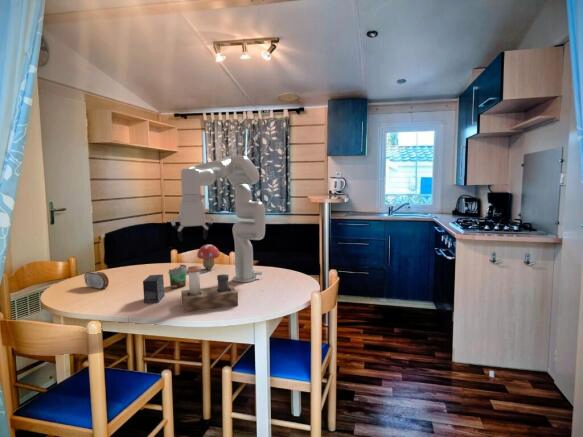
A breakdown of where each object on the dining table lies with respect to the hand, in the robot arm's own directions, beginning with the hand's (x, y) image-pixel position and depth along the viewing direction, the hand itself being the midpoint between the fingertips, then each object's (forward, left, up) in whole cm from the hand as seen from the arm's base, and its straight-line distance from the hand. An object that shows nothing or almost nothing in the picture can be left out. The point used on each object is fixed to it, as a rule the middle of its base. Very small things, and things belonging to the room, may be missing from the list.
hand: (193, 239), depth 151 cm
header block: (-6, 0, -29) cm, 29 cm away
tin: (+43, -49, -29) cm, 71 cm away
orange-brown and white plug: (0, 0, -24) cm, 24 cm away
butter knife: (-33, -11, -29) cm, 45 cm away
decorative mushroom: (-16, -68, -29) cm, 75 cm away
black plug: (-12, 0, -29) cm, 31 cm away
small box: (+16, -17, -29) cm, 37 cm away
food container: (+3, -35, -29) cm, 45 cm away
